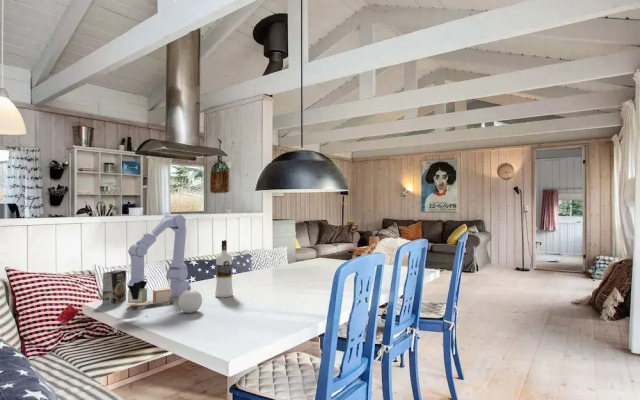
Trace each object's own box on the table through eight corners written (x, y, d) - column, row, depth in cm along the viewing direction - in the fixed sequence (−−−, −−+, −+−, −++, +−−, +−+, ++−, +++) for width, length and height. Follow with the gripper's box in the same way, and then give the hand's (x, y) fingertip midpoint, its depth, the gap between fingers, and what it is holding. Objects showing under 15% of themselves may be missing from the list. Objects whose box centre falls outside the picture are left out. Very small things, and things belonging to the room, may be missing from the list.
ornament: (177, 310, 177) (177, 284, 177) (200, 308, 181) (200, 282, 181) (178, 316, 168) (178, 289, 168) (203, 314, 172) (203, 287, 172)
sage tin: (132, 301, 184) (132, 288, 184) (146, 300, 184) (146, 288, 185) (128, 303, 180) (128, 290, 180) (143, 303, 180) (143, 290, 180)
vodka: (231, 293, 212) (231, 239, 213) (234, 297, 203) (234, 240, 204) (214, 294, 209) (214, 239, 209) (216, 298, 200) (216, 241, 201)
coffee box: (113, 306, 185) (113, 273, 185) (101, 306, 186) (102, 272, 186) (126, 302, 194) (126, 270, 194) (115, 301, 195) (115, 269, 195)
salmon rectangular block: (152, 302, 189) (153, 289, 189) (167, 299, 193) (167, 287, 193) (155, 303, 185) (155, 291, 186) (170, 301, 190) (170, 289, 190)
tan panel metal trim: (166, 301, 195) (166, 295, 195) (173, 306, 185) (173, 300, 185) (127, 307, 184) (127, 301, 184) (132, 312, 174) (132, 306, 174)
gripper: (139, 271, 175) (139, 301, 175) (152, 266, 190) (152, 294, 190) (123, 272, 175) (123, 301, 175) (137, 267, 190) (137, 294, 189)
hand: (137, 298), depth 182 cm, fingers closed on sage tin, 4 cm apart
